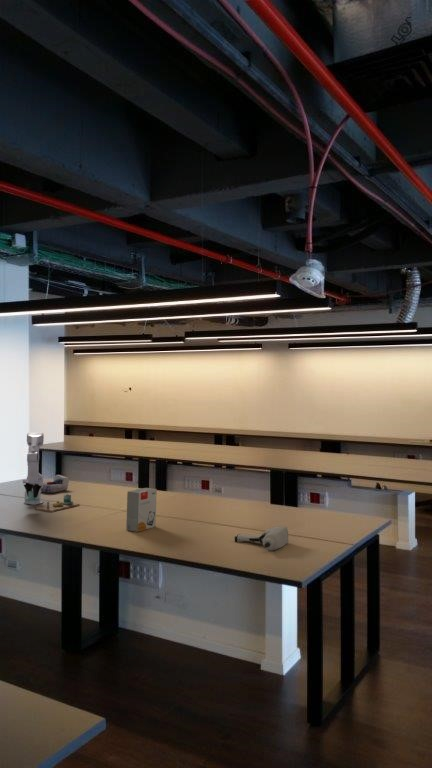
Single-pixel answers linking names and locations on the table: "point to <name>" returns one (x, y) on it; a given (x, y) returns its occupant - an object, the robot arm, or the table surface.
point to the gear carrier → (58, 505)
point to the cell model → (56, 484)
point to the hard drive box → (141, 509)
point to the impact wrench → (268, 538)
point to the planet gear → (31, 497)
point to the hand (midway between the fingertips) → (32, 496)
